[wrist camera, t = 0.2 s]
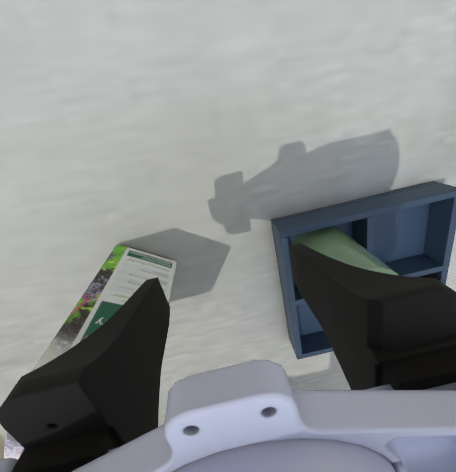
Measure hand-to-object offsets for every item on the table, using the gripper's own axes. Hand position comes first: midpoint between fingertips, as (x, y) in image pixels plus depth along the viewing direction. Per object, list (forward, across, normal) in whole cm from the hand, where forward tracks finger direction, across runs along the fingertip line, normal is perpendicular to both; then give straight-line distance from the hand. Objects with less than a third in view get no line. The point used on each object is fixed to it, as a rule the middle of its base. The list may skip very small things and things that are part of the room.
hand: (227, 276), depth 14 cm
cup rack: (+10, -12, +9) cm, 18 cm away
